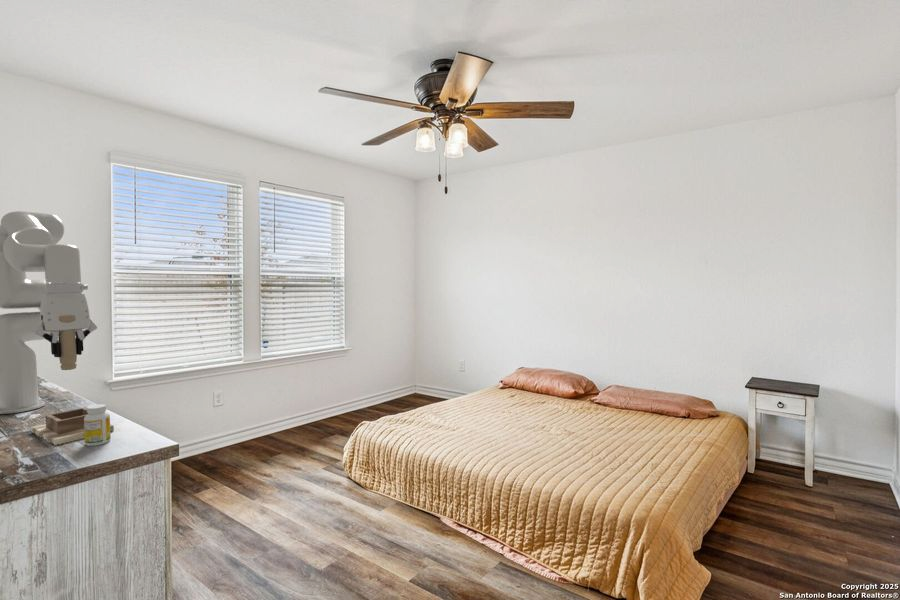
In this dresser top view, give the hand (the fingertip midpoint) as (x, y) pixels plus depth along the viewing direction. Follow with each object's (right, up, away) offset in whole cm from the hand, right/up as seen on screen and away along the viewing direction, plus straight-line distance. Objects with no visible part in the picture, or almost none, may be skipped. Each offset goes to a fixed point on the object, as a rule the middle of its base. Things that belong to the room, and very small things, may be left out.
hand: (67, 354), depth 127 cm
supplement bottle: (+14, -22, -8) cm, 27 cm away
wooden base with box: (+1, -22, +1) cm, 22 cm away
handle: (0, -4, 0) cm, 4 cm away
